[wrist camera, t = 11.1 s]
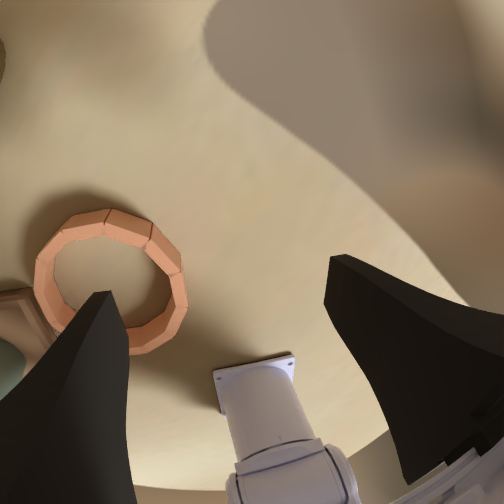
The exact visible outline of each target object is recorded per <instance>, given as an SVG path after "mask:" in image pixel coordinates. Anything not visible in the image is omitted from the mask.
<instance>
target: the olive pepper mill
mask: <svg viewBox="0 0 504 504" xmlns="http://www.w3.org/2000/svg"><path fill="white" fill-rule="evenodd" d="M5 54H6V53H5V49H4V44H3V42H2V41H1V39H0V82H1V79H2V75H3V71H4V68H5Z"/></svg>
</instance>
